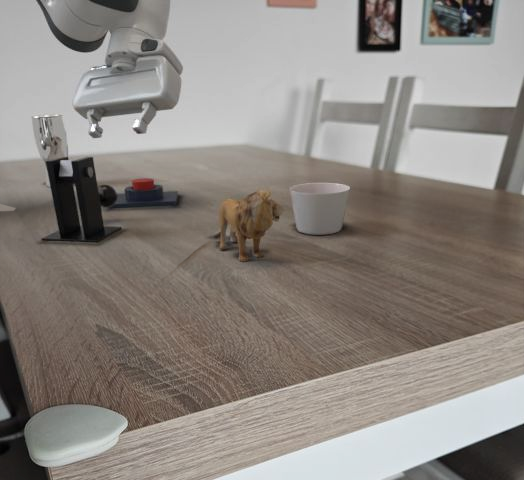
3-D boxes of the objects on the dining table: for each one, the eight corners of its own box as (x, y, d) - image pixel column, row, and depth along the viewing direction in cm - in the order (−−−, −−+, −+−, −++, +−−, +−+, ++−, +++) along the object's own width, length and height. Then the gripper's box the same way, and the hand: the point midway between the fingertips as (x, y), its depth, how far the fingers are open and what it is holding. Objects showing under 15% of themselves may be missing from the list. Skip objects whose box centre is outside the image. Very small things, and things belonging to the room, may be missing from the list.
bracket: (71, 232, 88) (56, 155, 83) (122, 234, 86) (111, 155, 81) (42, 246, 81) (24, 162, 76) (98, 248, 79) (83, 163, 74)
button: (131, 192, 102) (130, 182, 101) (134, 188, 105) (133, 178, 104) (153, 191, 102) (152, 181, 101) (155, 187, 105) (154, 177, 105)
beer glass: (53, 188, 125) (39, 117, 118) (38, 185, 129) (24, 116, 122) (81, 184, 129) (69, 114, 123) (65, 181, 134) (53, 114, 127)
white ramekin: (338, 221, 90) (339, 181, 87) (356, 235, 82) (358, 191, 79) (284, 225, 89) (284, 184, 86) (297, 239, 81) (297, 195, 78)
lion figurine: (289, 260, 72) (288, 189, 68) (255, 268, 69) (253, 195, 65) (229, 238, 83) (225, 175, 79) (198, 244, 80) (193, 180, 76)
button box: (109, 213, 100) (106, 194, 98) (118, 202, 109) (115, 184, 107) (176, 210, 101) (174, 190, 99) (179, 199, 110) (177, 181, 108)
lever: (99, 210, 91) (102, 189, 91) (119, 210, 90) (122, 189, 91) (53, 180, 78) (56, 155, 79) (76, 180, 78) (79, 155, 78)
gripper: (74, 56, 97) (56, 128, 94) (171, 39, 88) (154, 117, 86) (97, 80, 102) (81, 148, 100) (191, 65, 94) (176, 140, 92)
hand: (116, 134), depth 93 cm, fingers open, 8 cm apart
